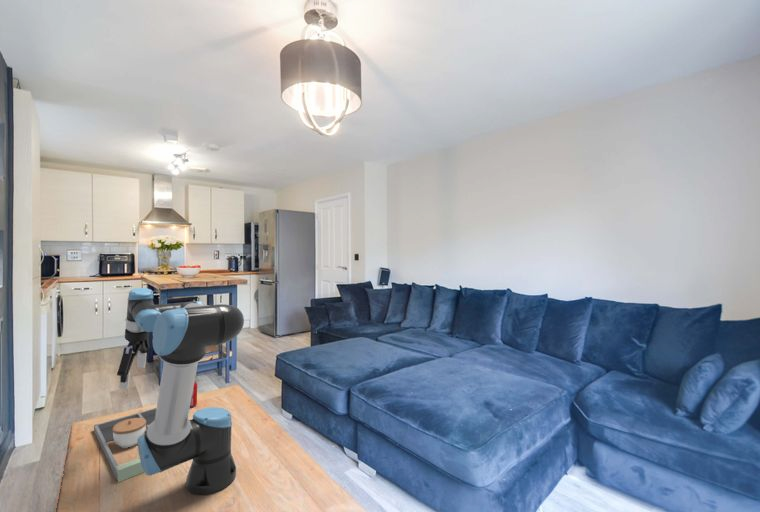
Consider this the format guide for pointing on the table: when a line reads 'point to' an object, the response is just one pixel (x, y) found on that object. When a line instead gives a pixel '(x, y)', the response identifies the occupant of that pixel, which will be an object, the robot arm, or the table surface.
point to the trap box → (106, 435)
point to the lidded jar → (128, 432)
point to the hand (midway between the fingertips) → (132, 377)
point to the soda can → (194, 395)
